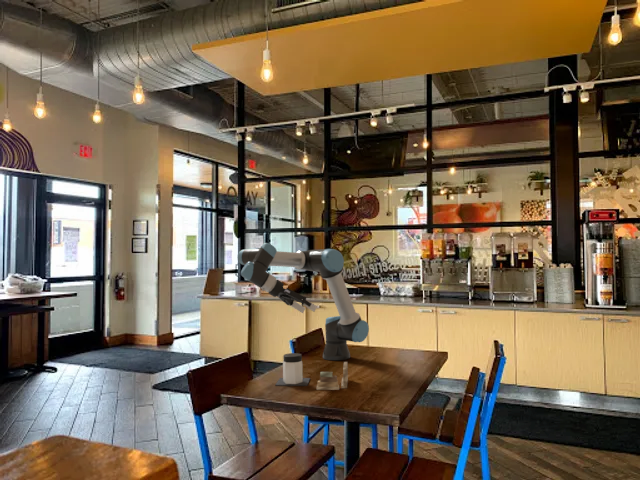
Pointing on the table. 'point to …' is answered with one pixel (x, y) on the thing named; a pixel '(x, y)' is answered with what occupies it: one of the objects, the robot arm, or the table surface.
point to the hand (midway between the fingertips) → (309, 310)
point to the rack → (344, 380)
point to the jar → (292, 368)
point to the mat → (304, 383)
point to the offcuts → (327, 380)
